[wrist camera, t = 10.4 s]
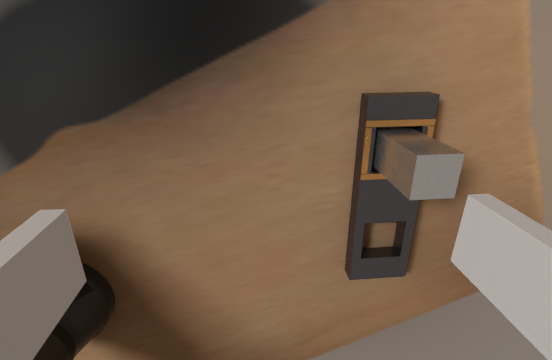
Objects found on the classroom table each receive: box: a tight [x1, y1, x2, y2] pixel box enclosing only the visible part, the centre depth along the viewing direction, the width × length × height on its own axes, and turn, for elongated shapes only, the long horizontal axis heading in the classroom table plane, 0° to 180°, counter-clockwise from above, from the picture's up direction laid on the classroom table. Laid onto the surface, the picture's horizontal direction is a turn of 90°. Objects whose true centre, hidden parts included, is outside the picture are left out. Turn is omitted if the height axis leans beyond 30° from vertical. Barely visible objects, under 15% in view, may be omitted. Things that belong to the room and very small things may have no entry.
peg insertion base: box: [345, 92, 440, 280], centre depth 45 cm, size 9×28×3 cm, turn 1°
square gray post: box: [372, 126, 465, 200], centre depth 38 cm, size 5×5×12 cm
